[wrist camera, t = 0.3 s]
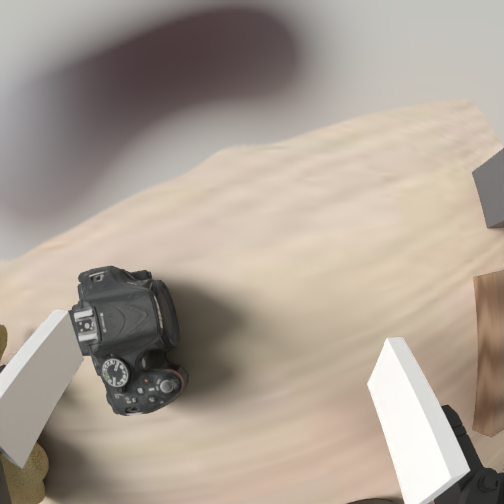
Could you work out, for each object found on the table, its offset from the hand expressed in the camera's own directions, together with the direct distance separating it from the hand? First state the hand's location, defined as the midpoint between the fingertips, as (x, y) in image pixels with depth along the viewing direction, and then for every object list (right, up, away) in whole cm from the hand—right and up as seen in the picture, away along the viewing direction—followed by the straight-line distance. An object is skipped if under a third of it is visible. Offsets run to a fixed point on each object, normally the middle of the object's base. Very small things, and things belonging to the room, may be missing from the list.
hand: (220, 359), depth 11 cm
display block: (+36, -8, +15) cm, 40 cm away
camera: (-9, -4, +16) cm, 19 cm away
